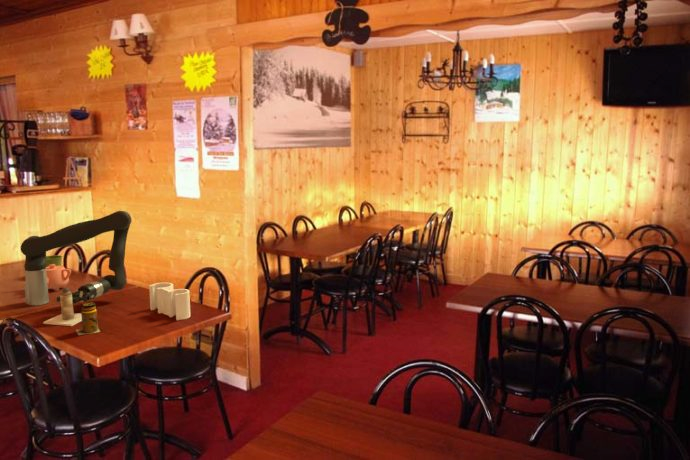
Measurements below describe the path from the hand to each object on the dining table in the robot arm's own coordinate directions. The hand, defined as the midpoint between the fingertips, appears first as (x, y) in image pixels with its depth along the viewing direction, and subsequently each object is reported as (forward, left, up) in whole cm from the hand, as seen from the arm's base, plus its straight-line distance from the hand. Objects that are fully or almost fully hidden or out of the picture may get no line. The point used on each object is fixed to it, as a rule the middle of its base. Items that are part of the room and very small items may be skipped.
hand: (65, 300), depth 254 cm
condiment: (+18, -10, -9) cm, 23 cm away
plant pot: (-61, +68, -9) cm, 92 cm away
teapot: (-42, +43, -9) cm, 61 cm away
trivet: (0, +1, -9) cm, 9 cm away
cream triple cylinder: (+40, +21, -10) cm, 46 cm away
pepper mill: (0, +1, -8) cm, 8 cm away
